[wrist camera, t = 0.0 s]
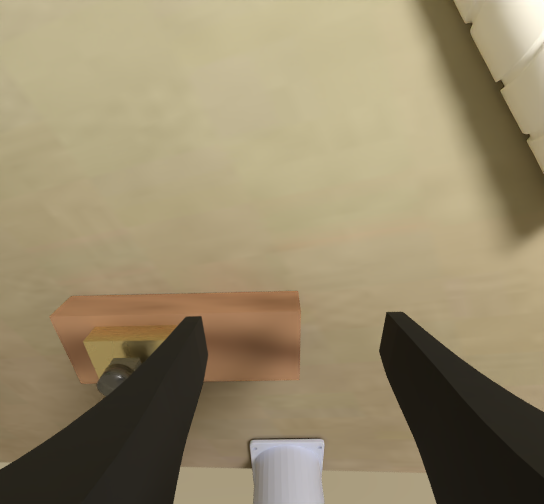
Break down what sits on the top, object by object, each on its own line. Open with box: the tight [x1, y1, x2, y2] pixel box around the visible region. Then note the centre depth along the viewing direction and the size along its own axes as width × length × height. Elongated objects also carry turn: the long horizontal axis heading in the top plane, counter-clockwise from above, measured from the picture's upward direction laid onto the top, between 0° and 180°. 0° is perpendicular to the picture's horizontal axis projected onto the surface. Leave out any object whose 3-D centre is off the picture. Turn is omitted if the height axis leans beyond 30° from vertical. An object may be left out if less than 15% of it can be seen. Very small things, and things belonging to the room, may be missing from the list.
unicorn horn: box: [453, 0, 544, 174], centre depth 13 cm, size 5×24×5 cm, turn 43°
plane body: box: [50, 291, 301, 384], centre depth 24 cm, size 12×18×4 cm, turn 92°
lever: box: [97, 357, 142, 396], centre depth 21 cm, size 10×2×2 cm, turn 2°
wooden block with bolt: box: [83, 325, 177, 379], centre depth 21 cm, size 5×6×2 cm
